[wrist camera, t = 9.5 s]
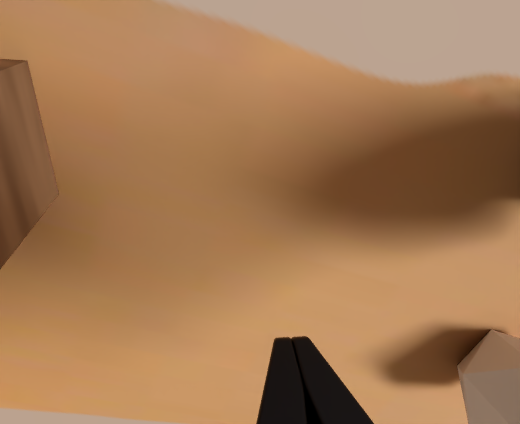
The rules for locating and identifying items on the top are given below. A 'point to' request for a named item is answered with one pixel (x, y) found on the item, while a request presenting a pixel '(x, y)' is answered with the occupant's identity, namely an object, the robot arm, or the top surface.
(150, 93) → the top surface
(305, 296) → the top surface
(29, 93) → the walnut block
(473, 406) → the die
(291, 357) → the robot arm
